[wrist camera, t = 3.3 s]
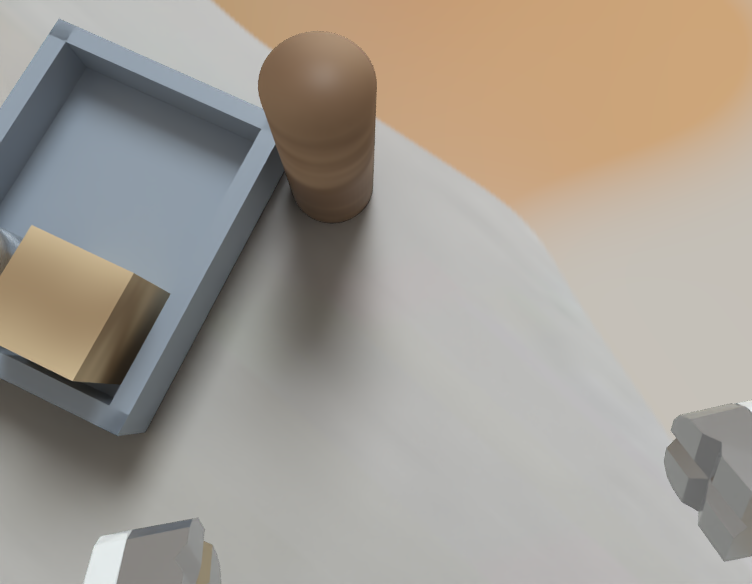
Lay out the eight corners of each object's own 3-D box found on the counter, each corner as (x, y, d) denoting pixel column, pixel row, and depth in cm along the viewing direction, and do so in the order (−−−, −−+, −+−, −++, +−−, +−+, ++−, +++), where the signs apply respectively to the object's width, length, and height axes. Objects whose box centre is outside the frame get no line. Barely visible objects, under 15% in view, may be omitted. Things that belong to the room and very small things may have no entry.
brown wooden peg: (351, 235, 25) (345, 157, 17) (277, 202, 25) (237, 109, 17) (386, 166, 25) (395, 59, 17) (313, 133, 25) (290, 14, 18)
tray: (145, 432, 23) (117, 435, 20) (-80, 322, 23) (-134, 311, 21) (295, 148, 25) (288, 120, 23) (88, 56, 26) (59, 18, 23)
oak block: (123, 385, 22) (72, 381, 18) (36, 342, 23) (-34, 329, 19) (173, 295, 23) (133, 273, 19) (87, 255, 23) (31, 224, 19)
